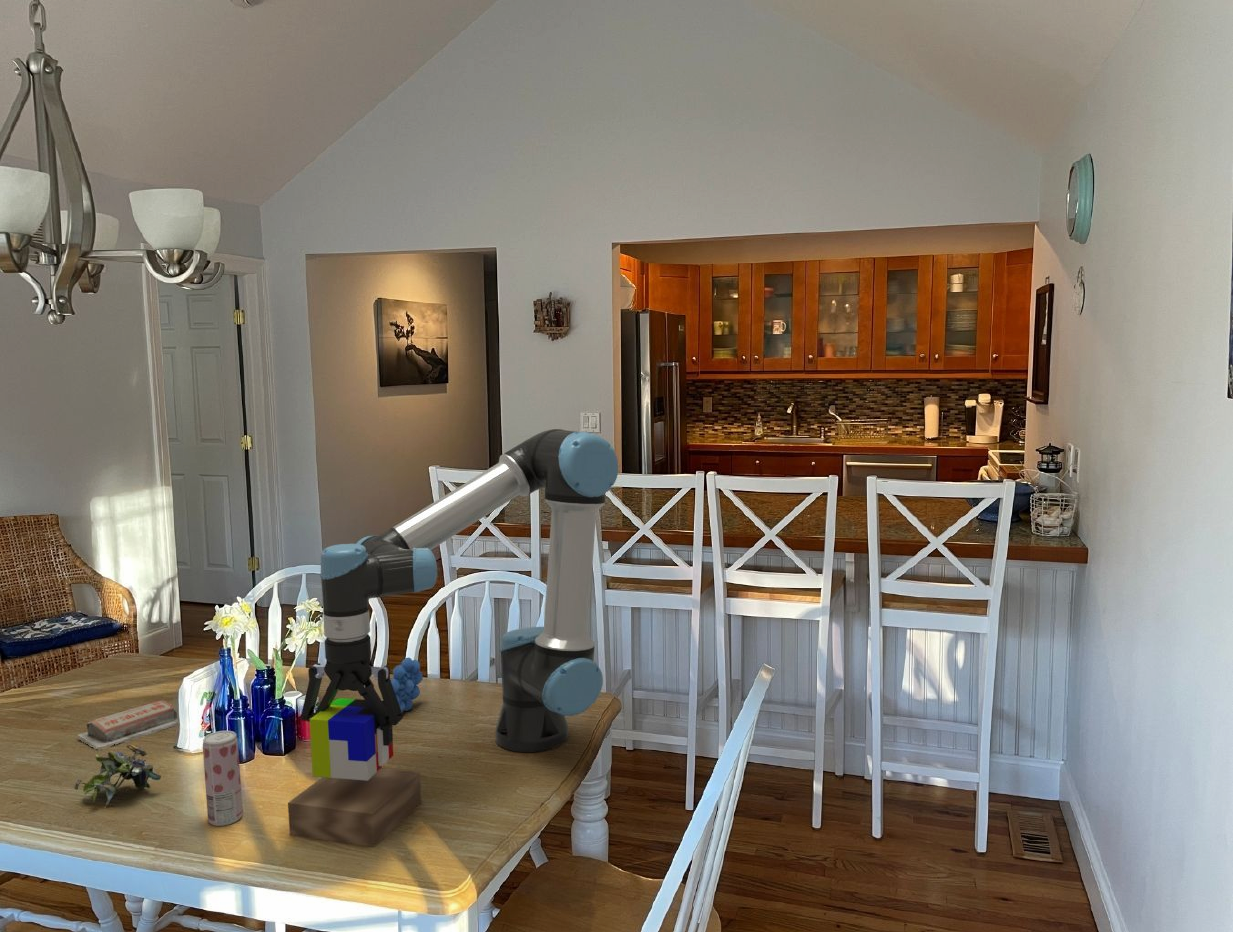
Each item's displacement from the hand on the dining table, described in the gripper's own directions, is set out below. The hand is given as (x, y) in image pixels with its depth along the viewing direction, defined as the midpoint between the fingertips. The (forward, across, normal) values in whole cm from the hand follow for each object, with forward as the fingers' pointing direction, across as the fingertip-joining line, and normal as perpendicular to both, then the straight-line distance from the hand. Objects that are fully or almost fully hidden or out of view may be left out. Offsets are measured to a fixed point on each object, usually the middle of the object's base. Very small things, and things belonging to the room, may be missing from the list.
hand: (353, 760), depth 164 cm
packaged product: (+11, -66, +31) cm, 74 cm away
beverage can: (+11, -23, -3) cm, 25 cm away
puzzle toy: (+1, 0, 0) cm, 1 cm away
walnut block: (+11, 0, 0) cm, 11 cm away
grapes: (+10, -11, +49) cm, 51 cm away
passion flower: (+11, -47, +2) cm, 48 cm away
